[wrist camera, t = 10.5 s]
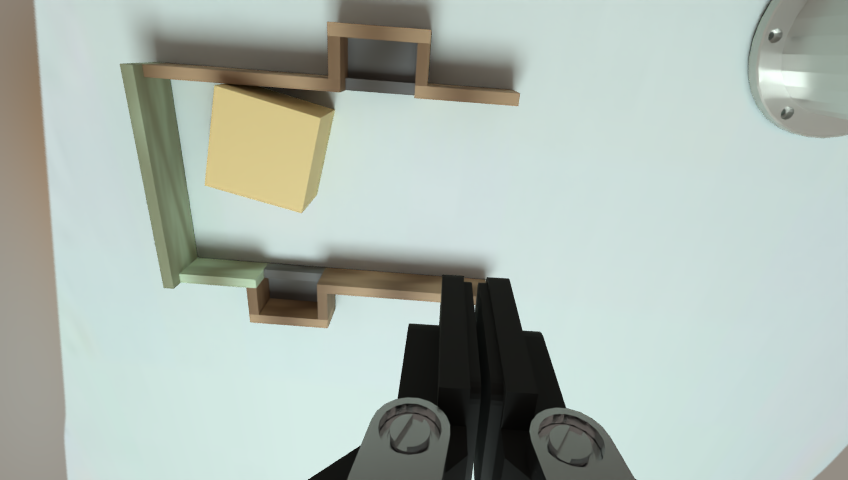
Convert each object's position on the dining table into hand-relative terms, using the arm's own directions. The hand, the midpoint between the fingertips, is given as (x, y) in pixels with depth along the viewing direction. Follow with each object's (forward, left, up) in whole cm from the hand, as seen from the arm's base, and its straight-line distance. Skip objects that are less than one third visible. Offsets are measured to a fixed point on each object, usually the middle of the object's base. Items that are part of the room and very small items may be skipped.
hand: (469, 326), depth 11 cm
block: (+13, +1, -25) cm, 28 cm away
